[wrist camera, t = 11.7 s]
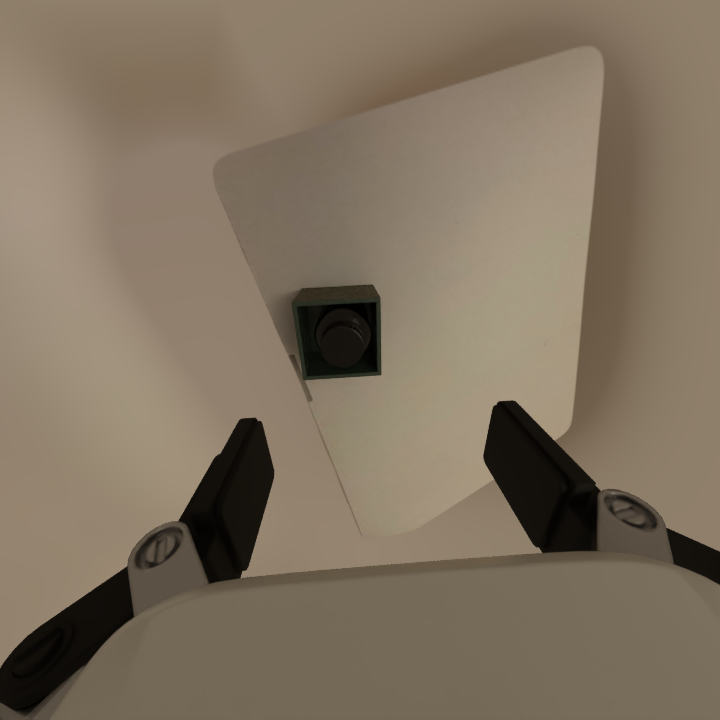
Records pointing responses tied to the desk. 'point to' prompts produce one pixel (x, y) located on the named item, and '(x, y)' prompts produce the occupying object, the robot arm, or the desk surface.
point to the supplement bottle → (343, 333)
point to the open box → (305, 321)
